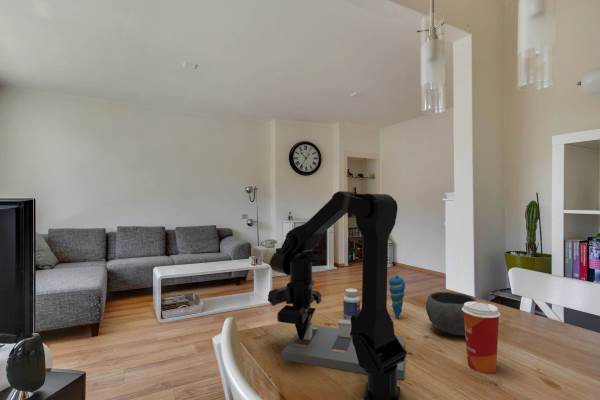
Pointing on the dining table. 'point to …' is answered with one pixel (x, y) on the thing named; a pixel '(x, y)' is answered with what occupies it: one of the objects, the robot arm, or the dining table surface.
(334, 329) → the breaker panel
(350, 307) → the pill bottle
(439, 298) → the bowl
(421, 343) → the dining table surface
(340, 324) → the middle handle
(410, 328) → the dining table surface
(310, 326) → the handle
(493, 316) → the paper cup
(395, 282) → the ornament
